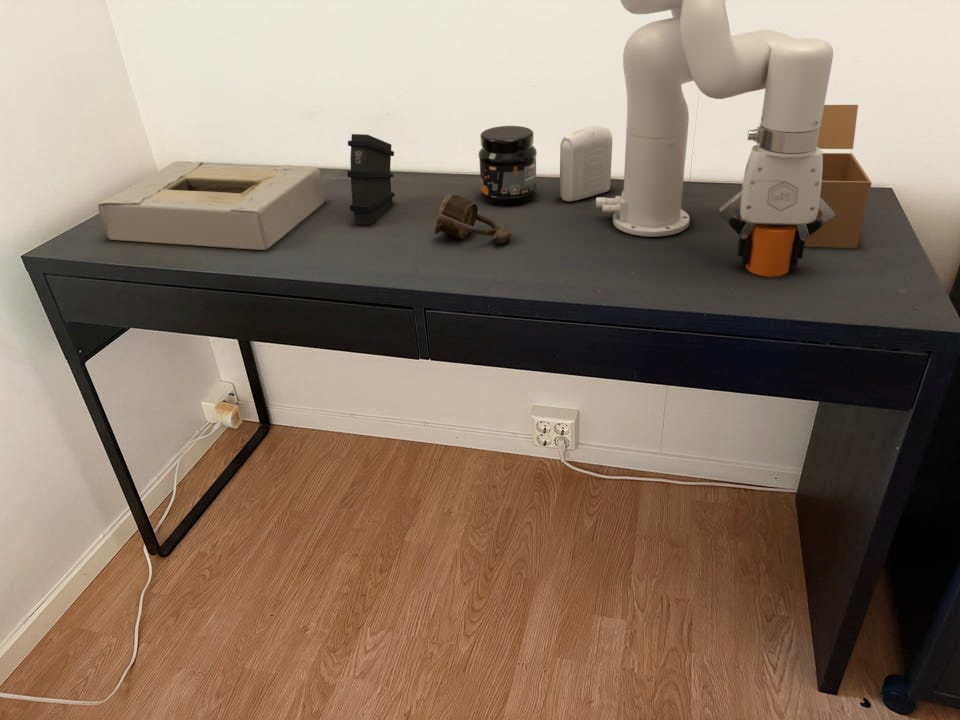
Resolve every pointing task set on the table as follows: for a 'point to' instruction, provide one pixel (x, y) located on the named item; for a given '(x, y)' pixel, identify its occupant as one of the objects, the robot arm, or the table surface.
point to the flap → (837, 127)
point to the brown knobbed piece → (466, 220)
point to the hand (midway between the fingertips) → (768, 260)
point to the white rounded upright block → (585, 163)
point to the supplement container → (508, 165)
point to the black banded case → (370, 178)
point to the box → (214, 205)
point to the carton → (842, 201)
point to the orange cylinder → (771, 249)
